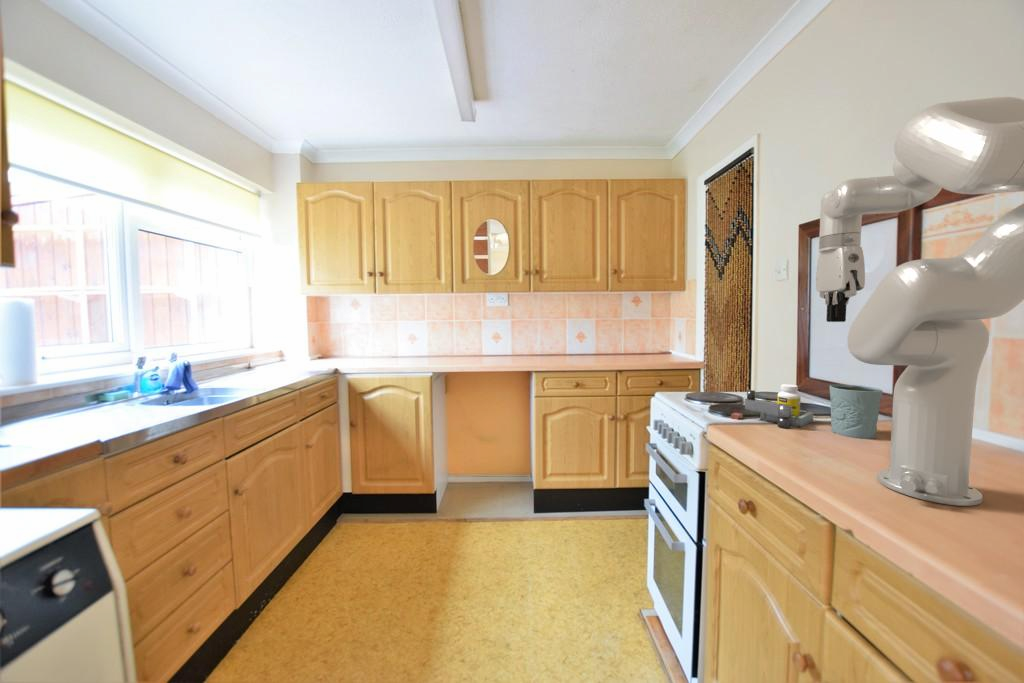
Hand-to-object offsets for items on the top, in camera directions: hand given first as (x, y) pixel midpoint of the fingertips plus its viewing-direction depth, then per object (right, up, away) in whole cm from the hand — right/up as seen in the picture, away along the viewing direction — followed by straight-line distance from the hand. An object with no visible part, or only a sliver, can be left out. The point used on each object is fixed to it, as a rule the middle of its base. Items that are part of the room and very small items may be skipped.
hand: (835, 321), depth 93 cm
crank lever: (-5, -25, +17) cm, 31 cm away
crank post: (-7, -28, +18) cm, 34 cm away
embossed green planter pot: (+10, -29, +7) cm, 31 cm away
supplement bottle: (+2, -27, +19) cm, 33 cm away
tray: (+2, -28, +20) cm, 34 cm away
